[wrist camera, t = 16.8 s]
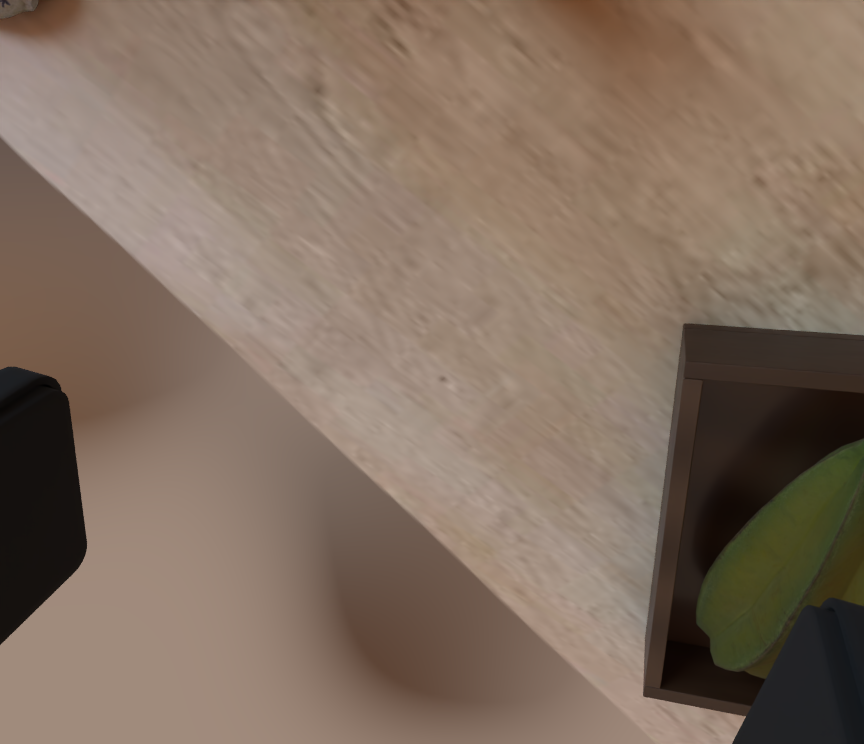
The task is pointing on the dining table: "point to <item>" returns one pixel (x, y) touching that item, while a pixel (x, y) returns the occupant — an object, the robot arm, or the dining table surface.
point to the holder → (736, 477)
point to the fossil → (16, 7)
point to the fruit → (787, 563)
